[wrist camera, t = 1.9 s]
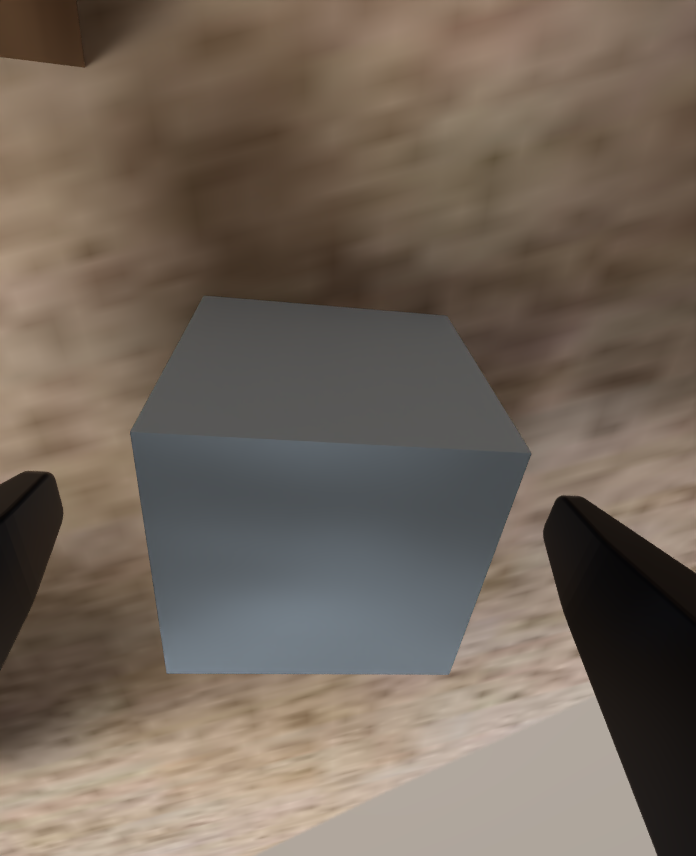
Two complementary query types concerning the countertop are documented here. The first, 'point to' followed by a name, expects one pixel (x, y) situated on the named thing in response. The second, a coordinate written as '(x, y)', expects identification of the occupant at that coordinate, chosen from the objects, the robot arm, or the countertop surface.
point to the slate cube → (321, 490)
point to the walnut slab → (41, 31)
